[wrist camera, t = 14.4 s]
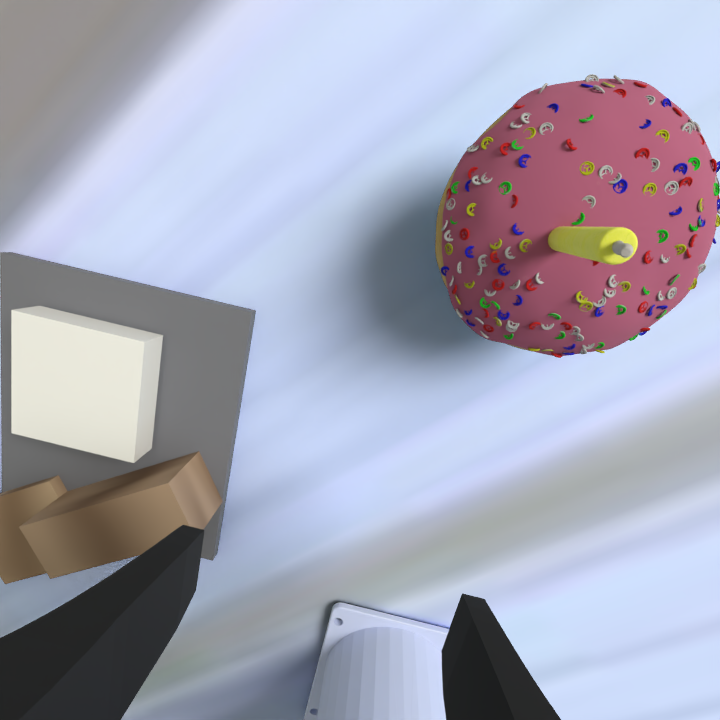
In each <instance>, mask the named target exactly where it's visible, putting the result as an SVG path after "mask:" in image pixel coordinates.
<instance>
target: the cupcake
mask: <svg viewBox="0 0 720 720" xmlns="http://www.w3.org/2000/svg"><path fill="white" fill-rule="evenodd" d="M613 77H614V78H615V79H599V78H598V77H597V76H596V75H593V74H592V75H588V76H587V77H586V79H585V80H583V81H575V82H568V83H561V84H555V85H550V86H547V85H548V84H547V83H545V84H544V86H543V87H542V88H539V89H536V90H533V91H531V92H529V93H527V94H526V95H524V96H523V97H521V98H520V99H519V100H518V101H517V102H516V103H515V104H514V105H513V107H511V108H510V109H509V110H508V111H506V112H505V113H504V114H503V115H502V116H501V117H500V118H499V119H497V120H496V121H495V122H494V123H493V124H492V125H491V126H490V127H489V128H488V129H487V130H486V131H485V132H484V133H483V134H482V135H481V136H480V137H479V138H478V139H477V141H476V142H475V143H474V144H473V145H471V146H470V147H468V148H467V151H466V152H465V154H464V155H463V157H462V158H461V160H460V162H459V163H458V165H457V167H456V168H455V170H454V172H453V174H452V175H451V177H450V179H449V181H448V184H447V186H446V188H445V190H444V193H443V196H442V199H441V202H440V205H439V209H438V214H437V223H436V243H435V253H436V259H437V263H438V266H439V270H440V273H441V276H442V279H443V281H444V283H445V286H446V287H447V289H448V292H449V296H450V299H451V302H452V305H453V307H454V309H455V311H456V312H457V314H458V316H459V317H460V318H461V319H462V320H463V321H464V322H465V323H466V324H467V325H468V326H469V327H470V328H471V329H472V330H473V331H475V332H476V333H477V334H479V335H480V336H482V337H484V338H486V339H488V340H491V341H496V342H501V343H506V344H508V345H511V346H514V347H517V348H521V349H525V350H529V351H534V352H538V353H542V354H547V355H553V356H555V357H559V358H561V357H562V356H566V355H574V354H579V353H581V354H586V353H587V352H592V351H597V352H600V353H605V352H604V351H601V350H607V349H611V348H614V347H616V346H618V345H620V344H622V343H624V342H626V341H627V340H630V341H631V340H634V339H635V338H636V337H637V336H638V334H639V335H644V334H645V333H646V332H647V331H649V330H650V328H648V327H650V326H651V325H653V324H654V323H655V322H656V321H658V320H659V319H660V318H662V317H663V316H664V315H665V314H667V313H668V312H669V311H671V310H672V309H673V308H674V307H675V306H676V305H677V304H678V303H680V302H681V301H682V299H683V298H684V297H685V296H686V295H687V294H688V292H689V291H690V290H691V289H694V288H695V287H696V284H697V277H698V275H699V274H700V273H701V272H703V271H704V270H705V268H706V264H704V262H705V260H706V258H707V255H708V253H709V250H710V247H711V245H712V241H713V243H714V244H715V243H716V241H715V239H714V235H715V230H716V227H718V226H719V225H720V217H719V215H718V214H717V212H718V213H719V214H720V199H719V192H720V189H719V187H720V186H719V182H718V179H717V175H716V173H717V172H718V171H719V169H720V161H719V162H717V163H716V160H715V159H712V157H711V154H710V152H709V149H708V147H707V144H706V142H705V140H704V138H703V136H702V134H701V133H700V127H699V125H698V124H697V123H696V122H693V121H692V119H690V118H689V117H688V115H687V114H686V113H685V112H684V111H682V110H681V109H680V108H679V107H678V106H677V105H675V104H674V103H673V102H672V101H670V100H669V99H668V98H666V97H665V96H664V95H663V94H661V93H660V92H659V91H658V90H656V89H655V88H654V87H652V86H651V85H649V84H647V83H645V82H642V81H637V80H628V79H619V78H618V77H617V76H616V75H614V76H613ZM589 78H592V80H589ZM593 78H594V79H593ZM717 165H719V166H718V167H717ZM716 169H717V170H716ZM718 202H719V204H718ZM717 221H718V224H717ZM702 267H703V268H702ZM641 332H643V333H641ZM632 337H633V338H632Z"/></svg>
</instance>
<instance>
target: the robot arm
mask: <svg viewBox="0 0 720 720" xmlns="http://www.w3.org/2000/svg"><path fill="white" fill-rule="evenodd" d="M204 531H205V530H203V529H199V528H195V527H191V526H187V525H182V526H180V527H178V528H177V529H176V530H174V531H173V532H171V533H170V534H169V535H167V536H166V537H165V538H163V539H162V540H161V541H159V542H158V543H156V544H155V545H154V546H152V547H151V548H149V549H148V550H147V551H145V552H144V553H142V554H141V555H140V556H138V557H137V558H135V559H134V560H132V561H131V562H129V563H128V564H126V565H125V566H123V567H122V568H121V569H119V570H118V571H116V572H115V573H113V574H112V575H110V576H109V577H107V578H106V579H104V580H102V581H101V582H99V583H98V584H96V585H94V586H93V587H91V588H90V589H88V590H86V591H85V592H83V593H82V594H80V595H78V596H77V597H75V598H73V599H72V600H70V601H68V602H67V603H65V604H63V605H62V606H60V607H58V608H56V609H55V610H53V611H51V612H49V613H48V614H46V615H44V616H42V617H40V618H38V619H37V620H35V621H33V622H31V623H29V624H27V625H25V626H23V627H22V628H20V629H18V630H16V631H14V632H12V633H10V634H8V635H6V636H4V637H2V638H0V720H121V718H122V717H123V715H124V713H125V712H126V710H127V709H128V707H129V705H130V704H131V702H132V701H133V699H134V697H135V696H136V694H137V693H138V691H139V689H140V688H141V686H142V685H143V683H144V681H145V680H146V678H147V677H148V675H149V673H150V672H151V670H152V668H153V667H154V665H155V664H156V662H157V660H158V659H159V657H160V656H161V654H162V652H163V651H164V649H165V647H166V646H167V644H168V643H169V641H170V639H171V638H172V636H173V634H174V633H175V631H176V629H177V628H178V626H179V624H180V622H181V620H182V618H183V616H184V614H185V612H186V609H187V607H188V605H189V603H190V601H191V599H192V597H193V595H194V593H195V591H196V586H197V579H198V572H199V565H200V559H201V552H202V545H203V538H204ZM336 618H340V619H341V620H338V619H336ZM304 720H561V719H560V717H559V716H558V715H557V713H556V712H555V710H554V709H553V707H552V706H551V705H550V703H549V702H548V700H547V699H546V697H545V696H544V694H543V693H542V691H541V690H540V688H539V687H538V685H537V684H536V682H535V681H534V679H533V678H532V676H531V675H530V673H529V671H528V670H527V668H526V667H525V665H524V664H523V662H522V660H521V659H520V657H519V656H518V654H517V652H516V651H515V649H514V647H513V646H512V644H511V643H510V641H509V639H508V638H507V636H506V634H505V633H504V631H503V629H502V628H501V626H500V624H499V623H498V621H497V619H496V618H495V616H494V614H493V613H492V611H491V609H490V608H489V606H488V604H487V603H486V601H485V599H482V598H478V597H474V596H470V595H466V594H462V596H461V598H460V601H459V604H458V607H457V609H456V612H455V615H454V618H453V621H452V623H451V626H450V629H447V628H443V627H439V626H435V625H431V624H427V623H423V622H419V621H415V620H410V619H406V618H402V617H398V616H394V615H390V614H386V613H382V612H378V611H374V610H370V609H366V608H362V607H358V606H354V605H350V604H346V603H341V602H339V603H336V604H334V605H333V607H332V611H331V615H330V618H329V622H328V626H327V630H326V634H325V638H324V642H323V645H322V649H321V653H320V657H319V661H318V665H317V668H316V672H315V676H314V680H313V684H312V688H311V692H310V695H309V699H308V703H307V707H306V711H305V715H304Z"/></svg>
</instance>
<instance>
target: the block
mask: <svg viewBox="0 0 720 720" xmlns="http://www.w3.org/2000/svg"><path fill="white" fill-rule="evenodd" d="M162 341H163V335H160V334H156V333H152V332H147V331H143V330H139V329H135V328H131V327H127V326H122V325H118V324H114V323H110V322H106V321H102V320H98V319H93V318H89V317H85V316H81V315H77V314H73V313H68V312H64V311H60V310H56V309H52V308H48V307H43V306H34V307H27V308H21V309H14V310H11V433H13V434H17V435H21V436H25V437H29V438H33V439H37V440H41V441H45V442H50V443H54V444H58V445H62V446H66V447H70V448H74V449H78V450H82V451H86V452H90V453H94V454H99V455H103V456H107V457H111V458H115V459H119V460H123V461H127V462H131V463H135V462H136V461H137V460H138V459H140V458H141V457H142V456H143V455H144V454H146V453H147V452H148V451H149V450H151V449H152V441H153V431H154V421H155V411H156V401H157V391H158V381H159V371H160V361H161V351H162Z"/></svg>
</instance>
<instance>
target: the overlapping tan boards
mask: <svg viewBox="0 0 720 720" xmlns="http://www.w3.org/2000/svg"><path fill="white" fill-rule="evenodd" d="M222 502H223V501H222V499H221V496H220V494H219V492H218V490H217V488H216V486H215V484H214V482H213V480H212V477H211V475H210V473H209V471H208V469H207V467H206V465H205V463H204V461H203V458H202V456H201V454H200V452H199V451H198V452H195V453H191V454H188V455H185V456H182V457H178V458H175V459H172V460H168V461H165V462H162V463H159V464H155V465H152V466H149V467H145V468H142V469H139V470H135V471H132V472H129V473H126V474H122V475H119V476H116V477H112V478H109V479H106V480H103V481H99V482H96V483H93V484H89V485H86V486H83V487H80V488H76V489H73V490H70V491H67V489H66V487H65V486H64V484H63V482H62V480H61V479H60V477H59V475H57V476H54V477H51V478H48V479H44V480H41V481H38V482H35V483H32V484H28V485H25V486H22V487H19V488H16V489H12V490H9V491H6V492H3V493H0V577H1V578H2V580H3V582H4V583H5V584H8V583H11V582H15V581H19V580H22V579H26V578H30V577H33V576H37V575H41V574H45V573H47V574H48V576H49V577H50V579H52V578H55V577H59V576H63V575H67V574H70V573H74V572H78V571H82V570H85V569H89V568H93V567H97V566H100V565H104V564H108V563H111V562H115V561H119V560H123V559H126V558H130V557H134V556H138V555H141V554H142V553H144V552H145V551H147V550H148V549H149V548H151V547H152V546H154V545H155V544H156V543H158V542H159V541H161V540H162V539H163V538H165V537H166V536H167V535H169V534H170V533H171V532H173V531H174V530H176V529H177V528H178V527H180V526H182V525H187V526H191V527H195V528H199V529H203V530H204V528H205V527H206V525H207V524H208V522H209V521H210V519H211V518H212V516H213V515H214V513H215V512H216V510H217V509H218V508H219V506H220V505H221V503H222Z"/></svg>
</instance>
